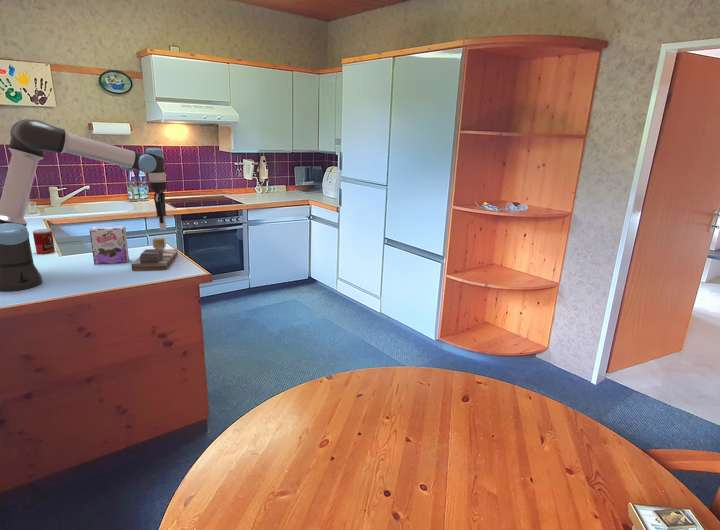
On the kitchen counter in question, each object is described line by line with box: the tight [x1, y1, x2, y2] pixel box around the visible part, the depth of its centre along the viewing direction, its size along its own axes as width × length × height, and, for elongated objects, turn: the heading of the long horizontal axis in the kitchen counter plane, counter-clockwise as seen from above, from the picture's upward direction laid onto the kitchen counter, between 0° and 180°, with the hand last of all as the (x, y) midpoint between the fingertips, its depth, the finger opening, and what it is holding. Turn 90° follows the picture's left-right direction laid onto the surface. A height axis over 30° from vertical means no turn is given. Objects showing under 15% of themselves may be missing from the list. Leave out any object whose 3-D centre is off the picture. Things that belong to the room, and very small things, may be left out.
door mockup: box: [131, 248, 179, 272], centre depth 211 cm, size 26×14×7 cm, turn 11°
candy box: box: [89, 225, 130, 265], centre depth 209 cm, size 14×6×16 cm, turn 105°
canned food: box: [32, 228, 56, 255], centre depth 223 cm, size 8×8×11 cm
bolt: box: [152, 237, 167, 252], centre depth 216 cm, size 10×5×6 cm, turn 11°
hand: (163, 229), depth 226 cm, fingers closed
